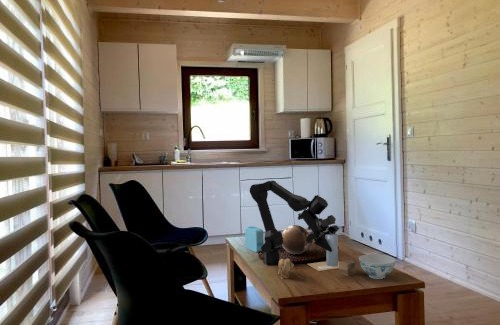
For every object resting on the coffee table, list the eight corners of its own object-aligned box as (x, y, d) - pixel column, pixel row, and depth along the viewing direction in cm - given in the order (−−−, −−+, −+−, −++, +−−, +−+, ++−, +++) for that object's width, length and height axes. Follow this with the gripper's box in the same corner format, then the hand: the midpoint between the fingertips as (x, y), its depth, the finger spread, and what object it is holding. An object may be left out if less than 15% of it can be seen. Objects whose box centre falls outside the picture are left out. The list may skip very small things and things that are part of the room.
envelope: (319, 271, 188) (319, 270, 188) (307, 264, 199) (307, 263, 199) (349, 267, 193) (349, 266, 193) (336, 260, 204) (336, 259, 204)
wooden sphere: (275, 252, 222) (275, 224, 221) (299, 249, 228) (299, 221, 228) (291, 259, 208) (290, 229, 207) (315, 255, 215) (315, 226, 214)
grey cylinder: (330, 267, 176) (329, 236, 175) (324, 264, 181) (324, 234, 180) (340, 265, 178) (339, 235, 177) (334, 262, 182) (333, 233, 182)
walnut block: (347, 275, 181) (347, 264, 181) (339, 273, 185) (338, 261, 185) (355, 273, 184) (355, 262, 184) (347, 270, 188) (346, 259, 188)
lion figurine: (295, 280, 177) (295, 259, 176) (283, 281, 175) (283, 260, 175) (283, 270, 191) (283, 250, 190) (272, 271, 189) (272, 251, 189)
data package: (263, 251, 225) (263, 229, 224) (256, 252, 222) (256, 230, 222) (252, 247, 235) (251, 225, 234) (245, 248, 233) (244, 226, 232)
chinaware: (352, 273, 184) (351, 256, 183) (380, 269, 189) (380, 252, 188) (373, 284, 169) (373, 265, 169) (403, 279, 175) (403, 261, 174)
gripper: (311, 212, 174) (334, 243, 167) (335, 206, 187) (357, 234, 181) (296, 229, 180) (318, 259, 173) (320, 222, 193) (341, 249, 186)
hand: (334, 250), depth 178 cm, fingers closed on grey cylinder, 5 cm apart
